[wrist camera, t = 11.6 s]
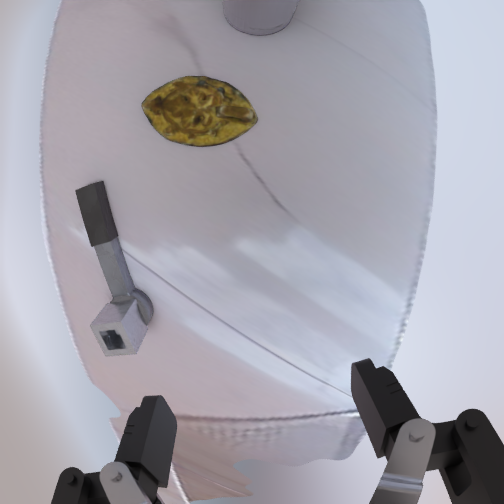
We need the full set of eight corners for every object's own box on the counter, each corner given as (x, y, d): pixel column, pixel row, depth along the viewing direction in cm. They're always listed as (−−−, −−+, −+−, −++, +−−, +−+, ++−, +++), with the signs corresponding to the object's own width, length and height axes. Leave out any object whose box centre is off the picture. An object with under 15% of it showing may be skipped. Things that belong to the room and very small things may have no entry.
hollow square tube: (106, 303, 37) (89, 325, 31) (135, 298, 36) (121, 321, 31) (119, 332, 38) (105, 356, 33) (148, 328, 38) (136, 353, 32)
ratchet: (158, 321, 41) (148, 346, 35) (124, 326, 41) (109, 350, 35) (112, 177, 34) (90, 182, 28) (76, 190, 34) (51, 198, 28)
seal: (141, 141, 34) (252, 152, 35) (127, 144, 30) (252, 155, 31) (149, 75, 30) (263, 83, 31) (137, 70, 26) (265, 77, 27)
